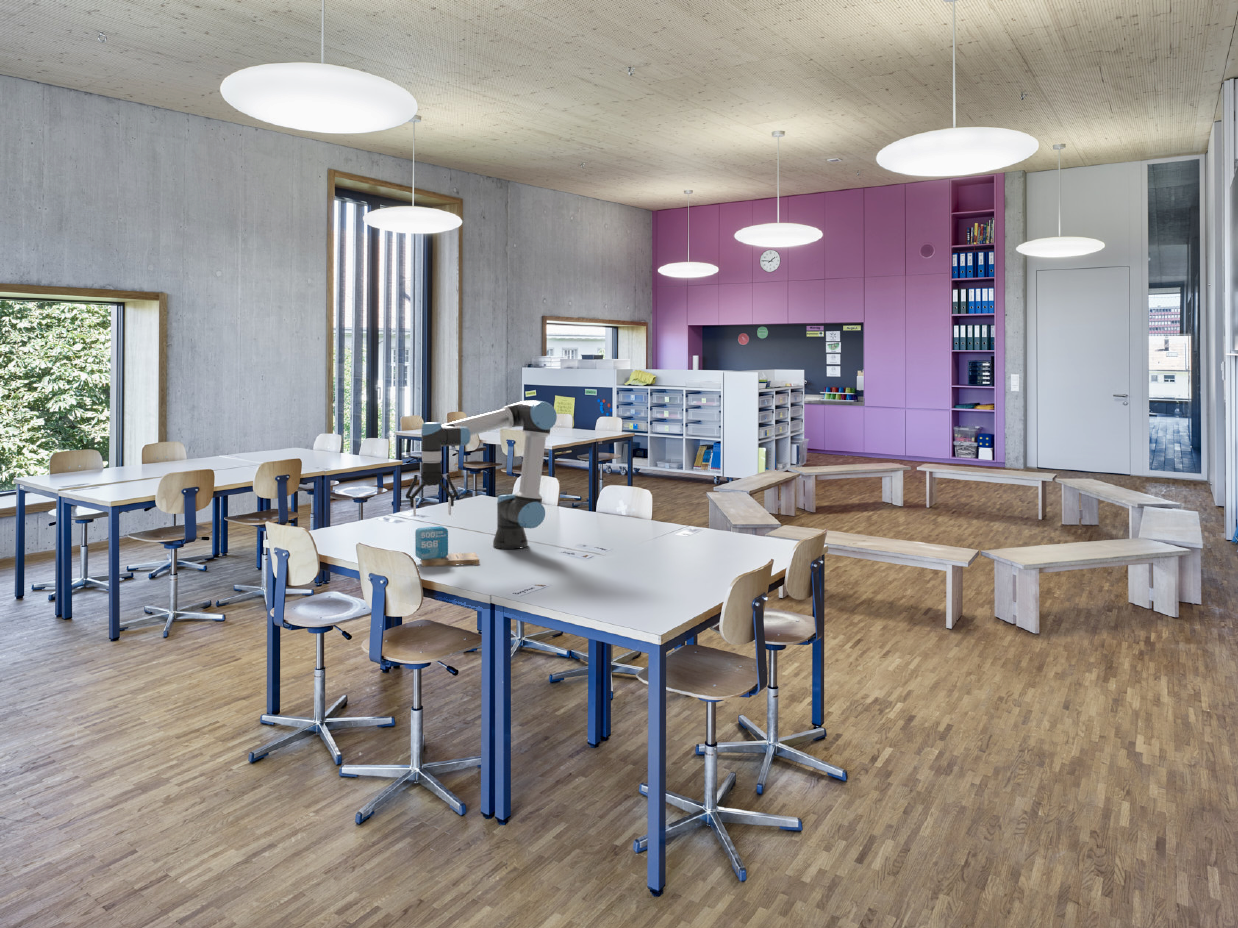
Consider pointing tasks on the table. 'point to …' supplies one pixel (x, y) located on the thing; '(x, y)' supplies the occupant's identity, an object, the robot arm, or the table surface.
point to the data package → (431, 542)
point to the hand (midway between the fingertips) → (432, 515)
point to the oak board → (453, 559)
